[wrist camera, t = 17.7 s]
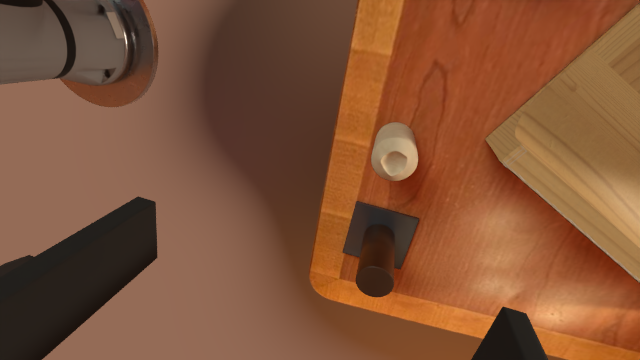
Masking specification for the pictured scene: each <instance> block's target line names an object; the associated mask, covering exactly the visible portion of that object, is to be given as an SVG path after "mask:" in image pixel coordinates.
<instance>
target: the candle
mask: <svg viewBox="0 0 640 360" xmlns="http://www.w3.org/2000/svg"><path fill="white" fill-rule="evenodd" d="M371 163H372V166H373V169H374V170H375V172H376V173H377V174H378V175H379V176H380V177H382V178H384V179H386V180H390V181H399V180H403V179H405V178H407V177H409V176H410V175H411V174H412V173H413V172H414V171H415V169H416V167H417V164H418V153H417V148H416V142H415V137H414V134H413V132H412V130H411V129H410V128H409V127H408V126H406V125H405V124H402V123H398V122H393V123H389V124H387V125H385V126H383V127H382V128H381V129H380V130H379V132H378V133H377V136H376V139H375V143H374V147H373V152H372V156H371Z"/></svg>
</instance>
